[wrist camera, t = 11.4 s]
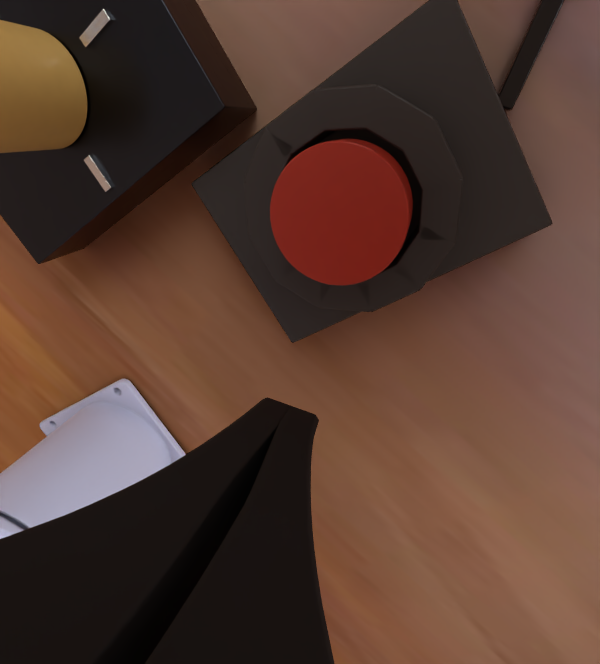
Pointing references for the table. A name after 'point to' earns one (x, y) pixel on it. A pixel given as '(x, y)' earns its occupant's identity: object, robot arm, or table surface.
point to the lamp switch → (341, 211)
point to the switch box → (409, 151)
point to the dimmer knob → (38, 91)
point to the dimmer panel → (119, 115)
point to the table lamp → (528, 51)
